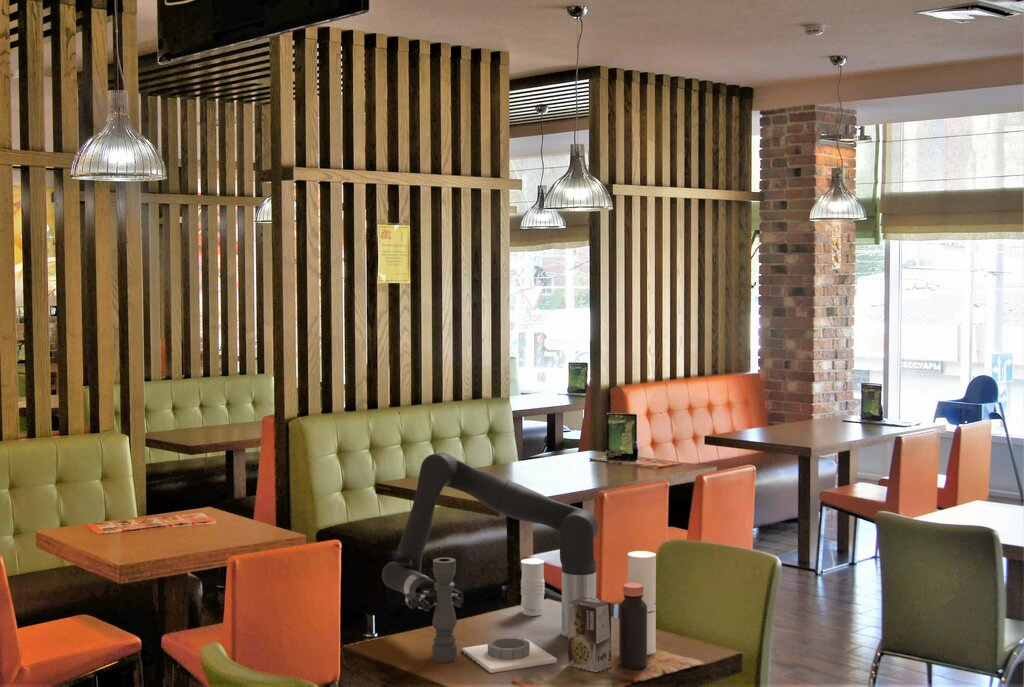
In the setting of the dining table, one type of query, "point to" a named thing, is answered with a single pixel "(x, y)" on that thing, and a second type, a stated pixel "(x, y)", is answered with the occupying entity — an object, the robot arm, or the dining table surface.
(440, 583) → the candle holder
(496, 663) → the collar plate
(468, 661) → the dining table surface
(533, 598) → the candle
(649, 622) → the cylindrical container
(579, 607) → the coffee box
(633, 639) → the bottle
